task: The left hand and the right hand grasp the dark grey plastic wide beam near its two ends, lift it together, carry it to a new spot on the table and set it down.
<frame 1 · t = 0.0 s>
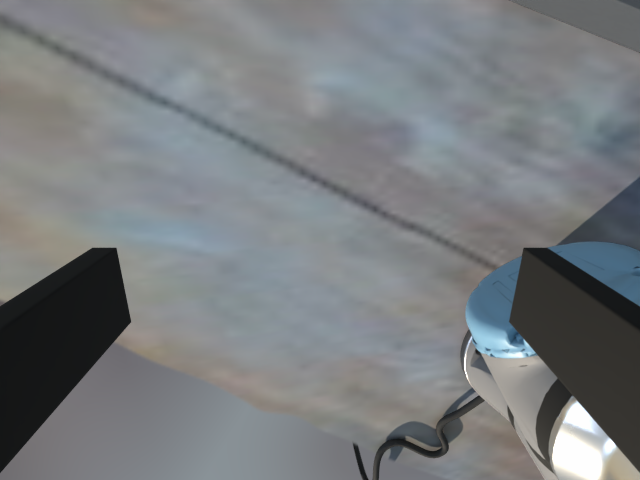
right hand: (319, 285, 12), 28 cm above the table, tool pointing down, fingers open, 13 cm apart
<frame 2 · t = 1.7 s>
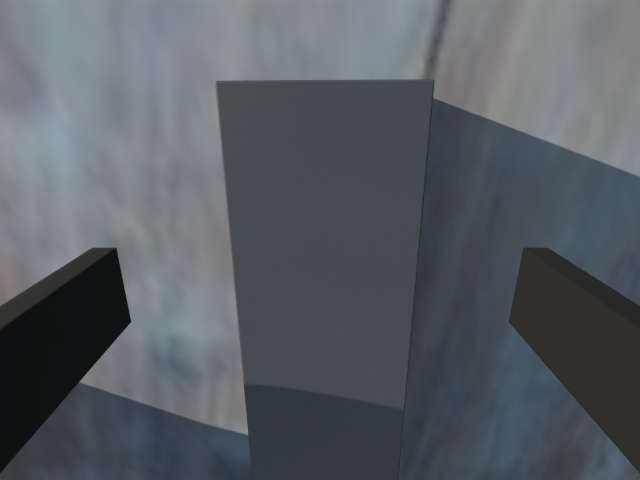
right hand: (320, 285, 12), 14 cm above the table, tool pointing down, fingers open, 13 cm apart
wide beam: (324, 464, 35), on the table
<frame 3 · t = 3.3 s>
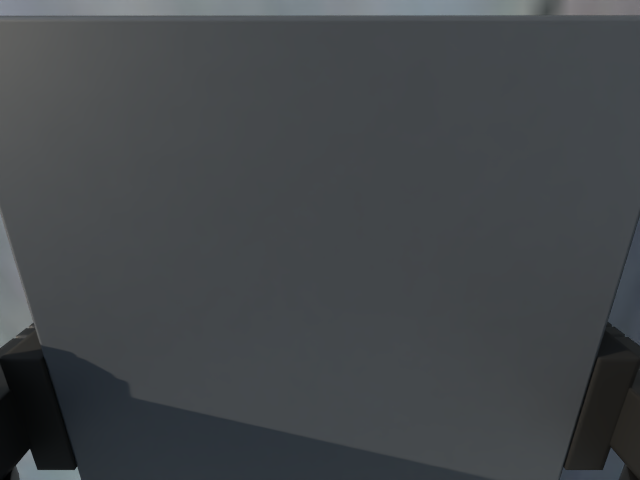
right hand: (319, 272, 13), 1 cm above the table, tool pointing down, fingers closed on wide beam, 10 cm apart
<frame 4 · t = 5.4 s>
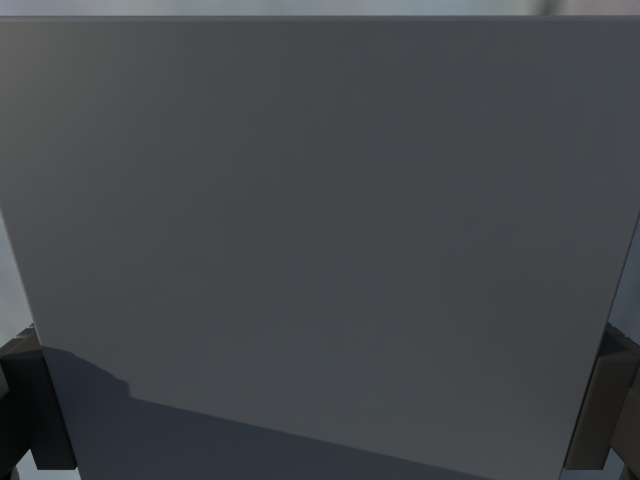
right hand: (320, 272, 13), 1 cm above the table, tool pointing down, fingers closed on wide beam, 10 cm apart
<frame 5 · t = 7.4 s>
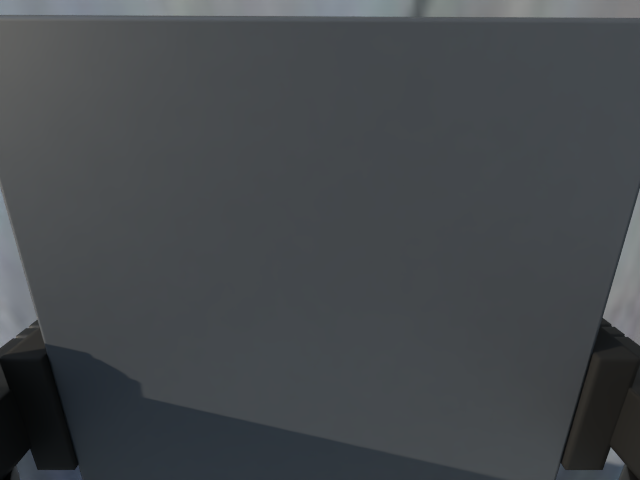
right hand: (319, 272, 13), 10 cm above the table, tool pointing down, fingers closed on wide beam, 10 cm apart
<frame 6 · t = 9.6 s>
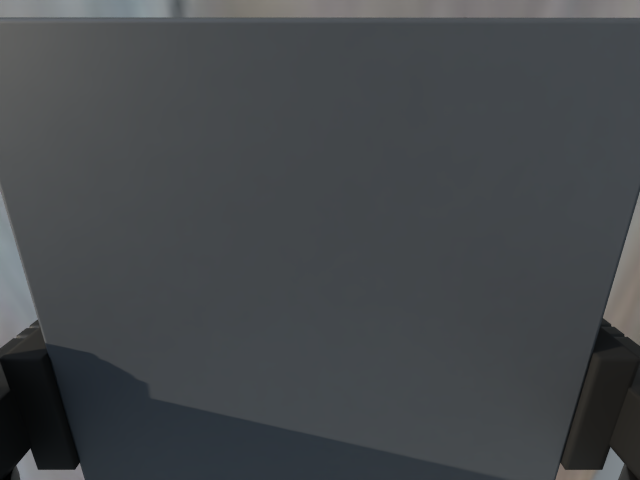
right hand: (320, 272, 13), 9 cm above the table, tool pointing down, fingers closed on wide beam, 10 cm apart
when the left hand's fingers open (1 cm above the table, at t = 11.3 s): wide beam stays where it is, on the table.
when the right hand's fingers open (2 cm above the table, at t = 11.3 s): wide beam stays where it is, on the table.
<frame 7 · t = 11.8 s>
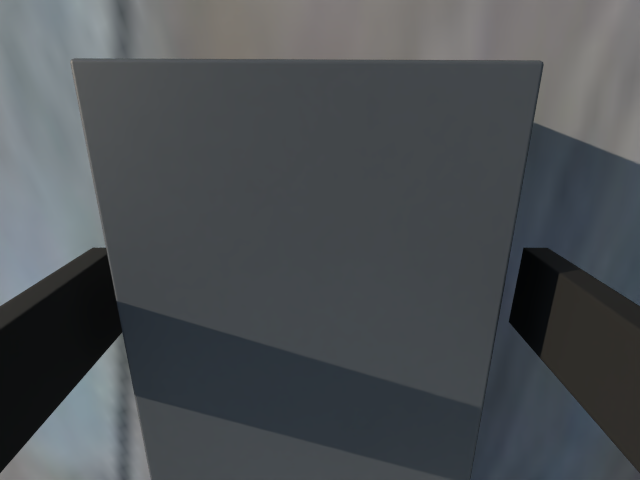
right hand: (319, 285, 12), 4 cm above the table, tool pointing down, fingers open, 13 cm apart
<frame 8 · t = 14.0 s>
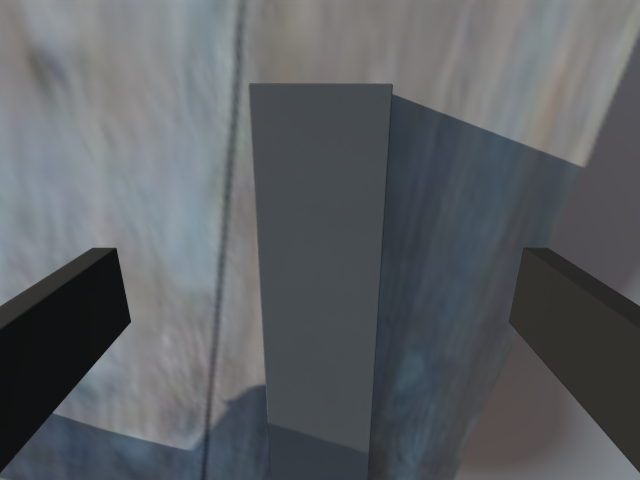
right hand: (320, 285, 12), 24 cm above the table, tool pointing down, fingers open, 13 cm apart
wide beam: (319, 389, 43), on the table
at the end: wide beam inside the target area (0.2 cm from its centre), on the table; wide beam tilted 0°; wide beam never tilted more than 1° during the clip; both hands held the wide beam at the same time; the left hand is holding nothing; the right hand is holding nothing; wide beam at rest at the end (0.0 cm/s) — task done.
